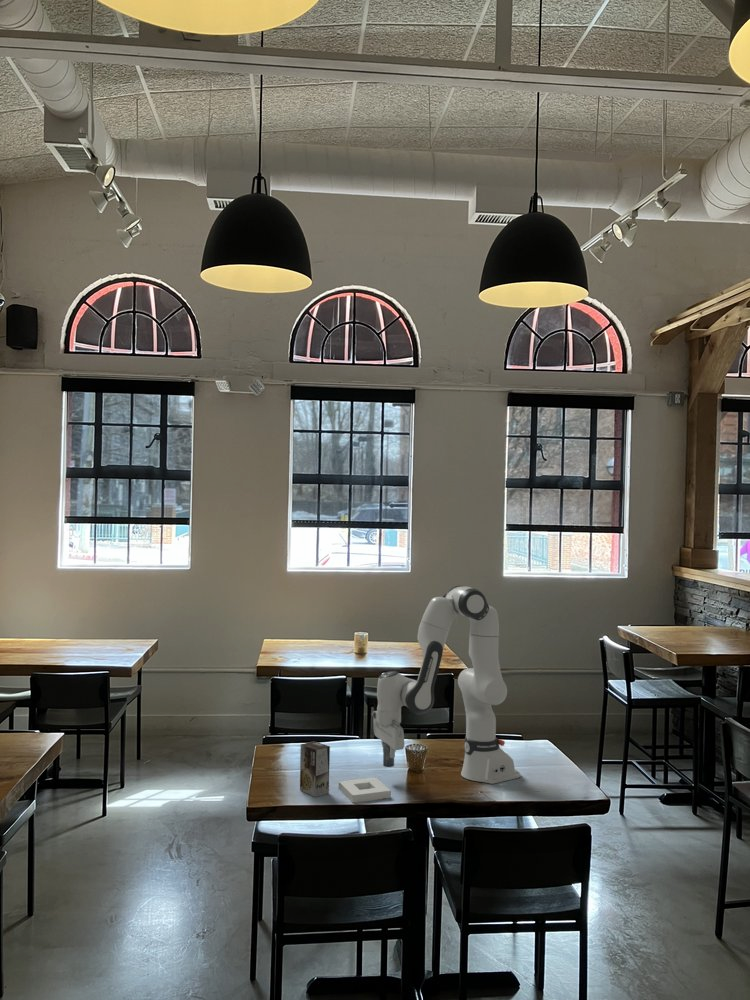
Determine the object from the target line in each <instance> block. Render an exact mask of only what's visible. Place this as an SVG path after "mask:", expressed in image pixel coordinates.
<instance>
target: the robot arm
mask: <svg viewBox="0 0 750 1000" xmlns="http://www.w3.org/2000/svg"><path fill="white" fill-rule="evenodd" d="M498 613H499V612H498V611H497V610H496V608H495V607H493V606H492V605H489V604H488V602H487V598H486V597H485V594H484V593H483V592H482V591H481V590H479V589H476V588H473V587H471V586H465V585H464V586H463V585H457V586H456V585H455V586H453V587H451V588H450V589H448V591H447V592H446V593H445V594H444V595H443V596H436V597H435V596H434V597H432V598H431V600H430V601H429V602H428V605H427V606H426V608H425V611H424V613H423V615H422V617H421V619H420V620H421V621H420V623H419V626H418V631H417V636H416V639H417V642H418V644H419V647H420V649H421V653H422V662H421V666H420V669H419V670H420V671H419V673H418V677H417V679H413V678H409V677H406V676H404V675H402V674H401V673H400V672H398V671H396V670H394V671H393V670H392V671H391V670H390V671H386V672H383V673H382V674H381V675H379V676H378V680H377V685H376V686H377V687H376V698H377V707H376V710H374V711H372V718H373V720H372V721H373V734H374V736H375V737H376V738H377V739H379V740H381V747H382V748H383V743H384V742H385V743H386V744H387V745H389V746H390V752H389V757H390V758H394V759H395V758H396V757H395V756H396V751H400V750H404V748H405V733H404V728H403V727H402V726H401V723H402V707H404V706H405V707H406V708H407V709H408V710H409V711H410V712H411V713H413V714H415V715H418V716H419V715H425V714H427V713H428V712H429V711H431V709H432V708H433V706H434V704H435V684H436V682H437V679H438V674H439V669H440V665H441V662H442V657H443V653H444V648H445V644H446V641H447V639H448V636H449V633H450V630H451V627H452V623H453V622H454V620H455V619H456V617H458V616H462V617H467V618H468V620H469V625H470V626H469V637H468V638H469V640H468V642H469V643H468V657H469V658H470V661H471V663H472V667H470V668H468V667H467V668H465V669H463V670H462V671H461V672H460V673H459V675H458V677H457V684H458V687H459V690H460V692H461V694H462V695H461V696H462V700H463V704H464V711H465V729H466V730H465V734H466V735H465V737H464V759H463V764H462V769H461V772H460V776H461V777H463V778H464V779H467V780H470V781H475V782H479V783H480V782H481V783H486V784H492V785H493V784H497V783H502V782H507V781H511V780H514V779H520V778H521V777H522V775H521V772H520V771H519V770H517V769H516V767H515V763H514V759H513V758H512V756H511V755H509V754H508V753H506V751H504V750H503V749H502V748H501V747H503V746H505V740H503V739H502V738H500V739H499V738H498V737H496V733H497V731H496V730H497V719H496V718H497V717H496V714H495V712H494V710H493V708H492V706H498V705H500V704H502V703H503V702H504V701H505V699H506V698H507V696H508V695H507V694H508V687H507V684H506V682H505V681H504V679H503V675H502V671H501V665H500V658H499V644H500V643H499V641H500V640H499V639H500V621H499V620H500V619H499V614H498ZM500 746H501V747H500ZM519 777H520V778H519Z"/></svg>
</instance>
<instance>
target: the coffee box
mask: <svg viewBox="0 0 750 1000" xmlns="http://www.w3.org/2000/svg"><path fill="white" fill-rule="evenodd" d="M330 752H331V746H330V745H327V744H324V743H321V742H318V741H315V740H312V741H309V742H304V743H302V744H300V753H299V754H300V757H299V758H300V761H299V762H300V763H299V764H300V766H299V767H300V768H299V772H300V774H299V791H300V790H301V791H300V792H303V793H305V794H307V795H311V796H313V797H315V798H317V797H321V796H324V795H328V794H329V792H330V761H331V758H330V755H331V754H330ZM327 793H328V794H327Z"/></svg>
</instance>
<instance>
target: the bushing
mask: <svg viewBox="0 0 750 1000" xmlns="http://www.w3.org/2000/svg"><path fill="white" fill-rule="evenodd" d="M382 752H383V755H382V757H383V758H382V763H383V764H382V766H383V767H384V768H392V767H395V757H394V758H390V757H389V752H390V746H389V745H387V744H386V743H385V742H384V743H383V747H382Z"/></svg>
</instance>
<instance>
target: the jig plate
mask: <svg viewBox="0 0 750 1000" xmlns="http://www.w3.org/2000/svg"><path fill="white" fill-rule="evenodd" d="M339 789H340V790H341V791H342V792H341V791H340V790H339ZM338 790H339V791H340V792H341V793H342V794H343V795H344V796H345V797H346V798H347V799H348V800H349V801H350V802H351V803H361V802H362V803H363V802H368V801H376V800H378V799H379V800H384V799H383V798H386V799H391V798H392V791H391V789H390V788H389V787H387V786H386V785H385V784H384V783H383V782H382V781H380V780H379V779H378V778H377V777H376V776H375V777H366V778H358V779H357V778H356V779H351V780H341V781H338ZM379 800H378V801H379Z"/></svg>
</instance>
